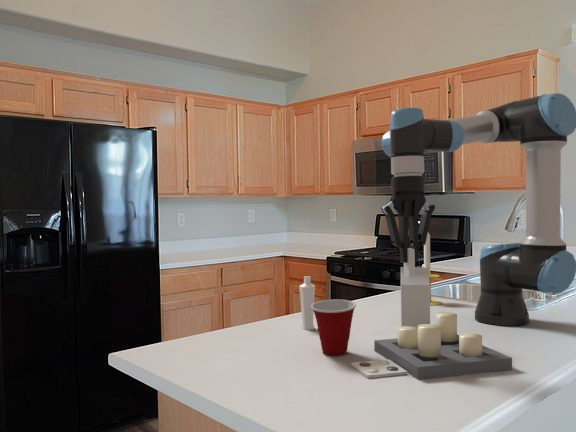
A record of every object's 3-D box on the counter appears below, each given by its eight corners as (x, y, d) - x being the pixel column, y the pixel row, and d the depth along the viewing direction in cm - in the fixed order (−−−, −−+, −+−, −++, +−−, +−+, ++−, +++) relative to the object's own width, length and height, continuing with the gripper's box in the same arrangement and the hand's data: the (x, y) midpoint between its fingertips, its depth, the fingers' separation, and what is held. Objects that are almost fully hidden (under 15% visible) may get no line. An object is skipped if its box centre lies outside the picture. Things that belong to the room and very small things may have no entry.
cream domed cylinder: (433, 350, 116) (433, 323, 116) (445, 356, 111) (445, 328, 111) (414, 352, 115) (413, 324, 115) (424, 358, 110) (424, 329, 110)
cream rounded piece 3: (413, 350, 126) (412, 325, 126) (422, 355, 121) (422, 330, 121) (394, 352, 125) (394, 327, 124) (403, 357, 120) (403, 331, 120)
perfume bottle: (308, 331, 148) (307, 278, 148) (297, 328, 152) (296, 276, 151) (319, 328, 151) (318, 276, 151) (309, 325, 155) (308, 275, 154)
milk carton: (430, 344, 132) (429, 269, 132) (401, 343, 134) (400, 269, 133) (428, 337, 139) (427, 266, 139) (401, 336, 141) (400, 265, 140)
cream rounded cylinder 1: (450, 336, 128) (450, 311, 128) (461, 341, 123) (460, 315, 123) (432, 337, 127) (432, 313, 127) (442, 342, 122) (442, 317, 122)
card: (389, 361, 118) (389, 358, 118) (407, 374, 109) (407, 370, 109) (351, 365, 116) (351, 361, 116) (366, 378, 107) (366, 374, 107)
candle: (447, 302, 187) (446, 227, 186) (433, 306, 180) (432, 228, 179) (422, 299, 194) (421, 226, 193) (407, 303, 186) (407, 228, 186)
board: (455, 343, 132) (455, 333, 132) (512, 369, 111) (512, 357, 111) (374, 350, 127) (374, 340, 127) (417, 379, 106) (417, 367, 106)
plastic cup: (303, 355, 124) (302, 305, 124) (325, 344, 133) (324, 297, 133) (343, 362, 118) (343, 309, 118) (364, 350, 127) (363, 301, 127)
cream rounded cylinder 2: (474, 358, 118) (473, 332, 118) (486, 364, 114) (486, 337, 114) (455, 360, 117) (454, 333, 117) (467, 366, 113) (466, 339, 112)
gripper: (425, 176, 127) (426, 272, 128) (375, 176, 124) (377, 275, 125) (441, 174, 120) (442, 276, 120) (388, 174, 117) (390, 280, 117)
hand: (409, 276), depth 123 cm, fingers closed
